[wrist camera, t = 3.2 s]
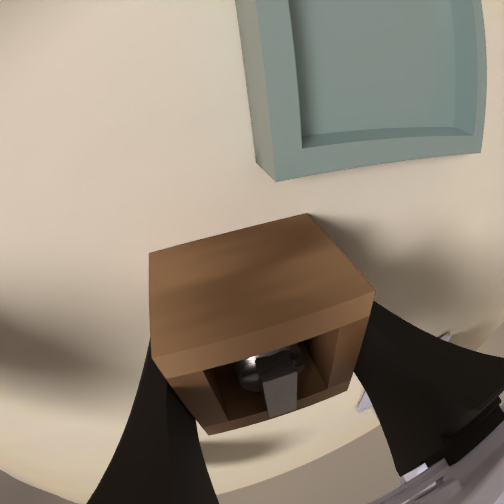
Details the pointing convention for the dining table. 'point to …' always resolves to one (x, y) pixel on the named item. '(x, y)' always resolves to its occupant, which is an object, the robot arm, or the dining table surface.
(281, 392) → the dark grey rounded piece
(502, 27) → the dining table surface
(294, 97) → the tray
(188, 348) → the collar
